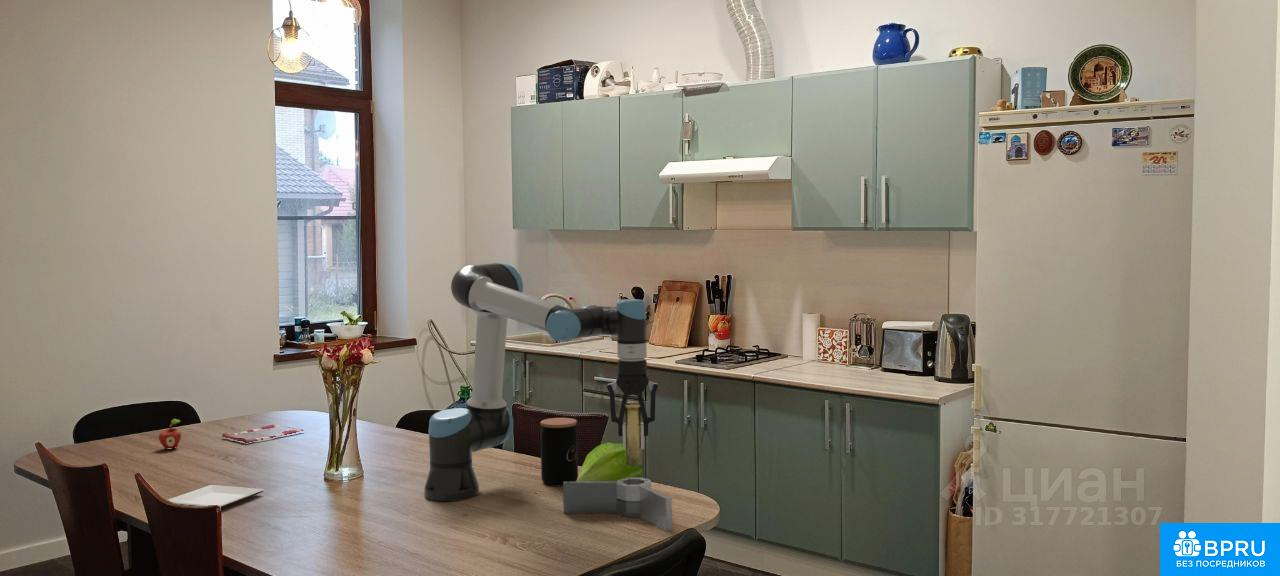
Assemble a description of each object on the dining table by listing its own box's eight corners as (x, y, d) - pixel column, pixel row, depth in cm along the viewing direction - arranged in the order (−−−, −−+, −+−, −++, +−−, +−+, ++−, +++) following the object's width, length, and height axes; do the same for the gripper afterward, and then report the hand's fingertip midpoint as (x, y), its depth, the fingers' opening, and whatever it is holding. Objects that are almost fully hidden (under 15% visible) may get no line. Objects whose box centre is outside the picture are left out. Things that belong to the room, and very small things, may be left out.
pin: (624, 466, 256) (623, 404, 255) (625, 461, 261) (624, 401, 260) (642, 466, 256) (641, 404, 255) (643, 461, 261) (642, 401, 260)
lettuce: (604, 515, 265) (568, 511, 276) (660, 481, 280) (625, 478, 291) (589, 463, 263) (554, 462, 274) (647, 432, 278) (611, 431, 289)
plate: (265, 496, 281) (264, 488, 281) (217, 514, 263) (217, 506, 263) (211, 491, 287) (211, 484, 287) (161, 508, 269) (161, 501, 269)
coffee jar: (572, 487, 285) (571, 425, 283) (536, 485, 287) (535, 424, 286) (582, 477, 295) (581, 418, 294) (547, 476, 297) (546, 417, 296)
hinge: (556, 531, 244) (556, 499, 243) (565, 507, 264) (565, 477, 264) (672, 531, 243) (671, 498, 242) (672, 507, 263) (671, 477, 263)
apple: (175, 451, 338) (174, 422, 338) (155, 451, 338) (154, 422, 338) (186, 446, 346) (184, 417, 345) (166, 446, 346) (165, 418, 346)
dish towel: (220, 440, 357) (220, 433, 357) (278, 429, 376) (278, 422, 376) (246, 446, 347) (246, 438, 347) (305, 434, 366) (304, 427, 365)
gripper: (598, 361, 253) (599, 451, 255) (664, 360, 253) (666, 451, 254) (600, 357, 261) (602, 445, 262) (665, 356, 260) (666, 444, 262)
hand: (633, 448), depth 258 cm, fingers closed on pin, 4 cm apart
